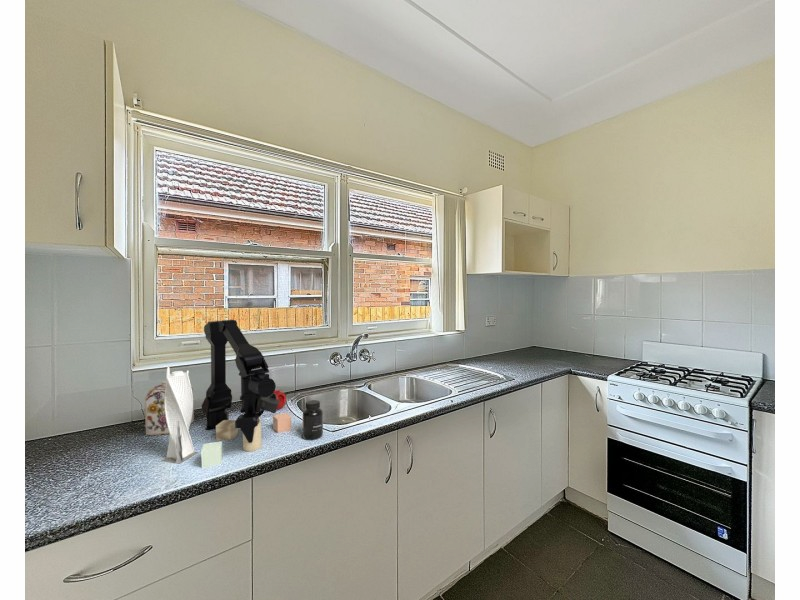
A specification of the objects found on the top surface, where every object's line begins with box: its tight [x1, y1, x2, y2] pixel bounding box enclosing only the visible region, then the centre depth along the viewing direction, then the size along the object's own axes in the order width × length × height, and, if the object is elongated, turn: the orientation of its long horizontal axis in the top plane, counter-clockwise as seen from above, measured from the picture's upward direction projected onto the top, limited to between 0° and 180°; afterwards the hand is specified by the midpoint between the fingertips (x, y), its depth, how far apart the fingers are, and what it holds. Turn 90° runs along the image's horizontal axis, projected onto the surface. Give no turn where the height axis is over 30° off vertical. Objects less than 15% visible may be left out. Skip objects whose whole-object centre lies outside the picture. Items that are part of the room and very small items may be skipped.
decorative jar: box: [144, 379, 195, 436], centre depth 129 cm, size 12×12×18 cm
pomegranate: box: [274, 389, 287, 411], centre depth 150 cm, size 10×10×9 cm
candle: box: [242, 418, 263, 452], centre depth 113 cm, size 6×6×10 cm
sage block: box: [200, 440, 223, 468], centre depth 104 cm, size 5×5×5 cm
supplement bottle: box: [302, 399, 324, 441], centre depth 121 cm, size 7×7×12 cm
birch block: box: [215, 419, 239, 441], centre depth 122 cm, size 5×5×5 cm
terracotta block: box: [272, 412, 293, 434], centre depth 128 cm, size 5×5×5 cm
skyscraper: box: [160, 366, 199, 465], centre depth 108 cm, size 8×8×28 cm
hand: (252, 438), depth 113 cm, fingers closed on candle, 5 cm apart
